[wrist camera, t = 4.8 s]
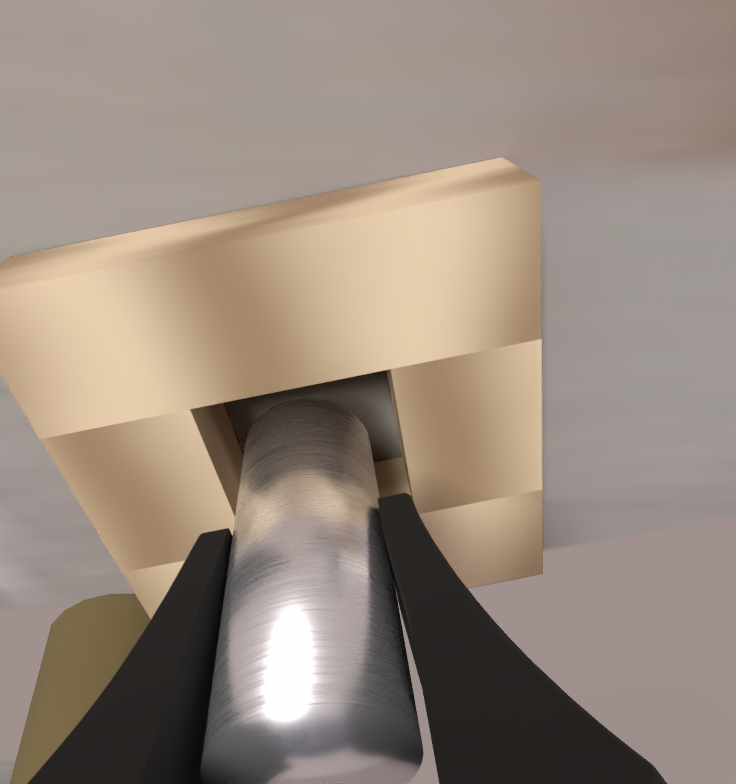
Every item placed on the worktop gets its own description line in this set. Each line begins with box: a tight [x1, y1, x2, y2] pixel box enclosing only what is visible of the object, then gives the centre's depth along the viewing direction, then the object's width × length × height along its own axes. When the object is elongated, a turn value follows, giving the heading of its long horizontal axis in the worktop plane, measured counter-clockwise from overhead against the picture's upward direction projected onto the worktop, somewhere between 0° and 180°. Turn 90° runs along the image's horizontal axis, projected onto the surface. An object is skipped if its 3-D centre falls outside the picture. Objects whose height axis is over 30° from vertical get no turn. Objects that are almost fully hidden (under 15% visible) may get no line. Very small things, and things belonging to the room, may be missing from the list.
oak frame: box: [0, 158, 543, 619], centre depth 16 cm, size 12×12×3 cm
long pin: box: [200, 398, 423, 784], centre depth 11 cm, size 3×3×8 cm
